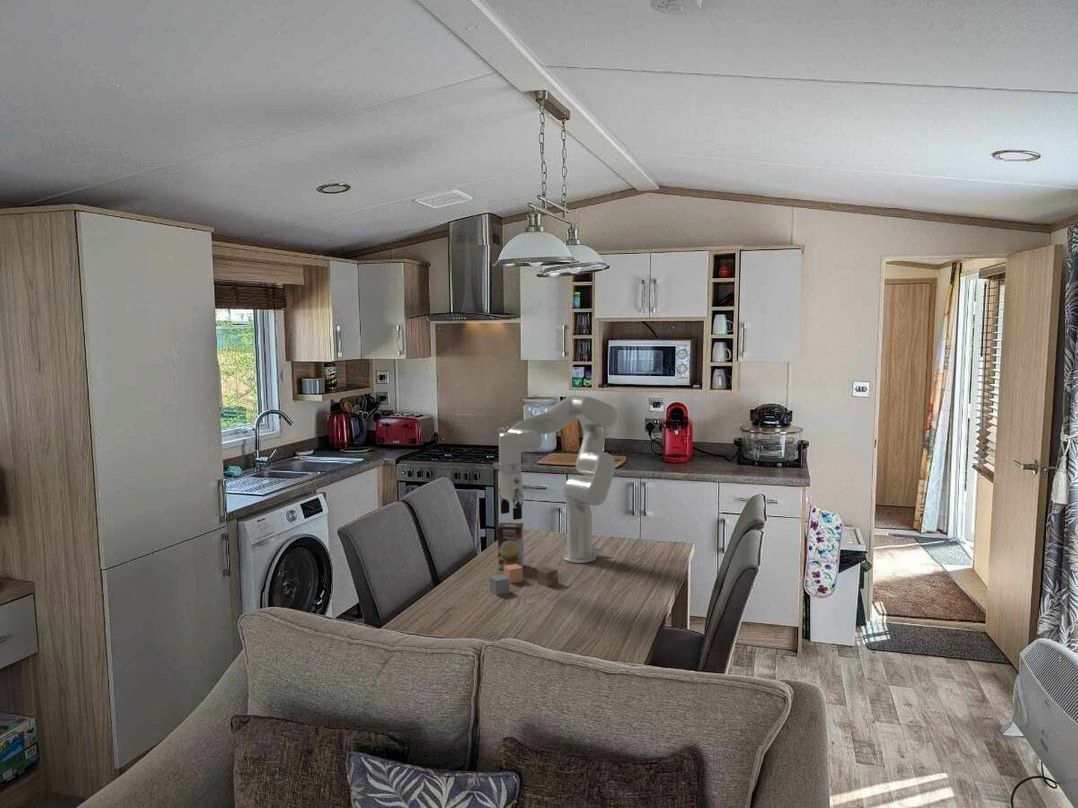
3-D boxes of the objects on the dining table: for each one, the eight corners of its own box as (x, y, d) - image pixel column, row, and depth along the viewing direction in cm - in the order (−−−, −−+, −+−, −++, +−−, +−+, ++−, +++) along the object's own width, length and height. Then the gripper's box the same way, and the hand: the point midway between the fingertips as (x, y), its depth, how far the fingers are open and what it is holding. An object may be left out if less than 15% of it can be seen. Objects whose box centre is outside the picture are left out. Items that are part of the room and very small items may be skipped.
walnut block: (548, 580, 265) (548, 566, 265) (557, 583, 261) (557, 569, 261) (537, 583, 262) (537, 569, 262) (546, 586, 258) (546, 572, 258)
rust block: (516, 577, 269) (516, 563, 268) (522, 581, 264) (522, 567, 264) (503, 579, 266) (503, 566, 266) (509, 583, 262) (509, 569, 262)
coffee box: (497, 569, 278) (496, 526, 276) (500, 564, 284) (499, 522, 283) (522, 569, 277) (521, 527, 275) (524, 564, 283) (523, 522, 282)
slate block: (503, 588, 258) (502, 574, 257) (509, 592, 253) (509, 578, 253) (490, 591, 255) (489, 576, 255) (496, 595, 251) (495, 581, 250)
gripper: (531, 470, 256) (532, 520, 257) (509, 463, 271) (510, 509, 272) (511, 473, 252) (512, 523, 254) (490, 465, 267) (491, 512, 269)
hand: (511, 516), depth 263 cm, fingers open, 9 cm apart
